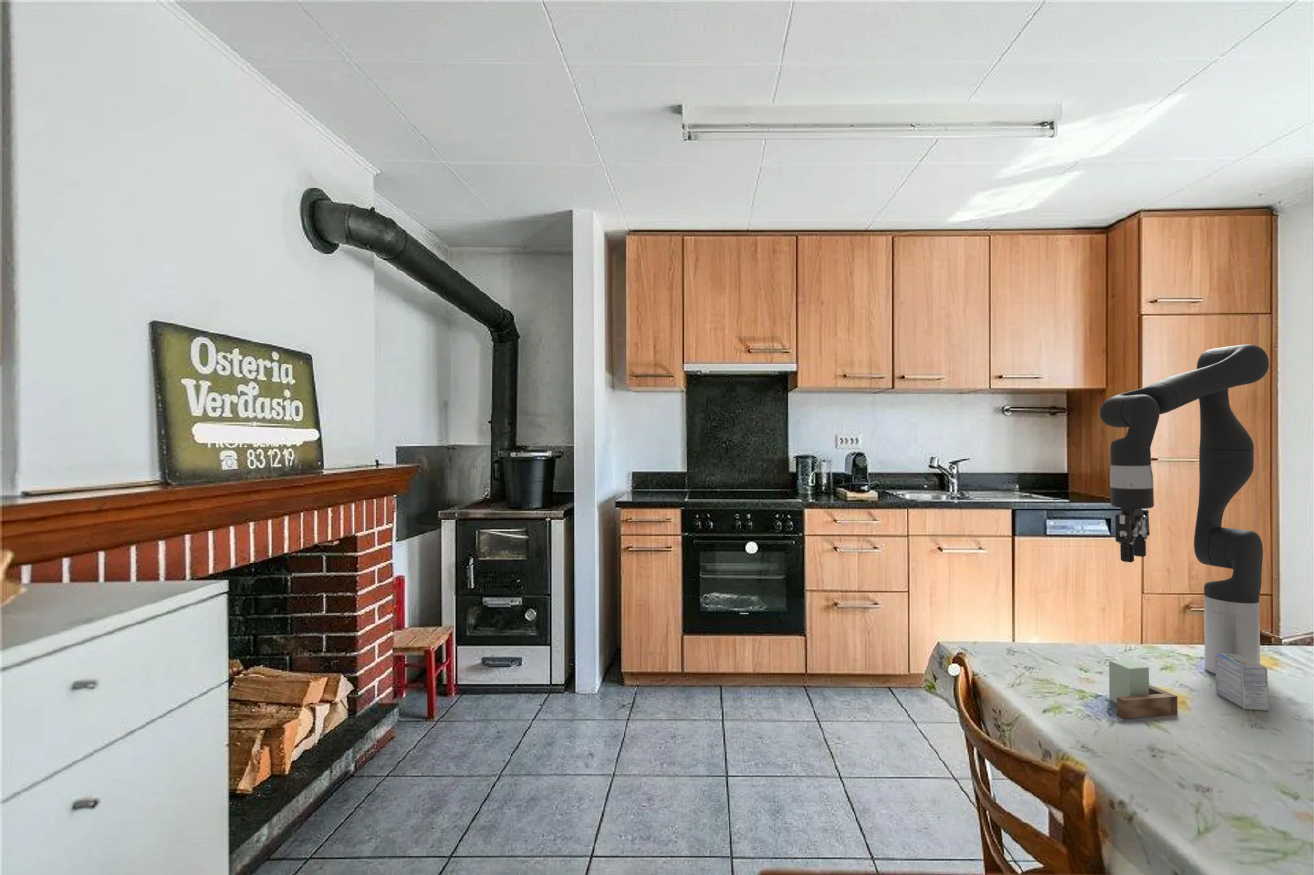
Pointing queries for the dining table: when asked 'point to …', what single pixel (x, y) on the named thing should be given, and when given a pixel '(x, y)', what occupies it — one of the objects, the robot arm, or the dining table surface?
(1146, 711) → the walnut corner
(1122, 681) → the sage block
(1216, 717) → the dining table surface
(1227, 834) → the dining table surface
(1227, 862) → the dining table surface
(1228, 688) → the medicine box
